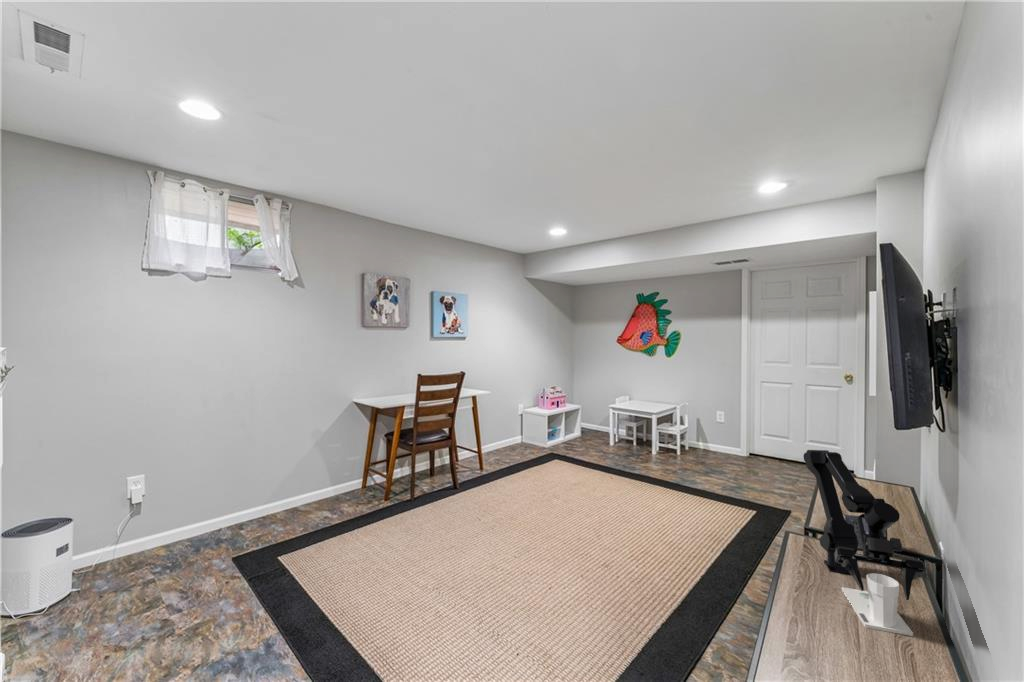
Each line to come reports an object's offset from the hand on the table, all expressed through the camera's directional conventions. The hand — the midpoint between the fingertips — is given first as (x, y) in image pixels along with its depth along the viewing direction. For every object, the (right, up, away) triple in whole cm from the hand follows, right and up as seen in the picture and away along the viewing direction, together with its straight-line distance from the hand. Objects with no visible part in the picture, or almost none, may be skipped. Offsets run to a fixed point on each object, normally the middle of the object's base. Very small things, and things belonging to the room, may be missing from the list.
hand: (884, 595), depth 113 cm
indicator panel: (+3, -8, +7) cm, 11 cm away
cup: (+1, -8, +1) cm, 8 cm away
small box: (+30, -8, +42) cm, 52 cm away
